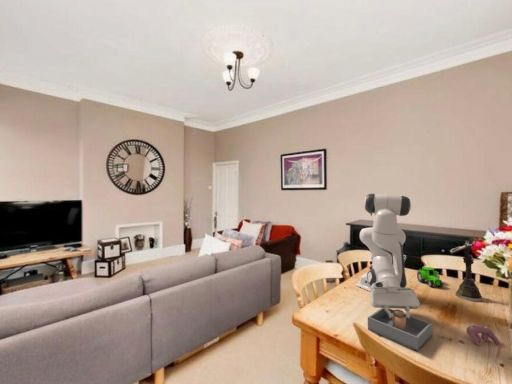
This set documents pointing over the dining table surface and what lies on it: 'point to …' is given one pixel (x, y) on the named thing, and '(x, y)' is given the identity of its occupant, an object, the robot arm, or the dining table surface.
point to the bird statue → (467, 276)
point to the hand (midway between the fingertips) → (399, 318)
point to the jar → (399, 320)
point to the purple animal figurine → (485, 334)
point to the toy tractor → (429, 276)
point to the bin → (412, 338)
